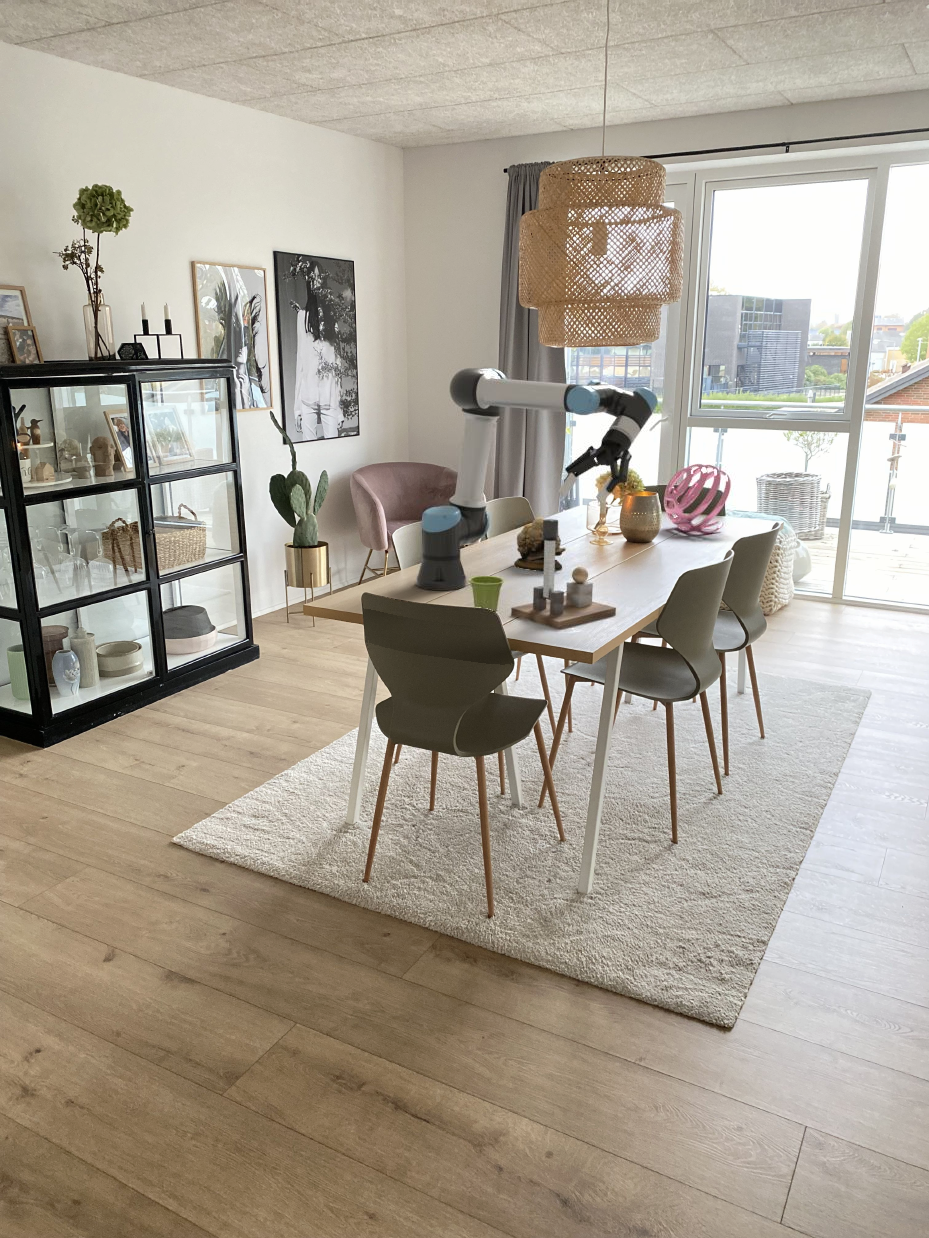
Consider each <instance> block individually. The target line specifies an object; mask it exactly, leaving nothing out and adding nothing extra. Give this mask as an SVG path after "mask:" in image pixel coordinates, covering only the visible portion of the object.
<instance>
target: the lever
mask: <svg viewBox="0 0 929 1238" xmlns="http://www.w3.org/2000/svg"><path fill="white" fill-rule="evenodd" d="M558 531H559V520H558V519H552V518H549V519H547V518H546V519H545V520H543V535H542V540H545V544H544V571H543V585H542V586H543V594H542V598H544V599H546V600H550V593H551V592H553V591H555V571H556V570H555V560H556V556H555V541H556V540H558V534H559V532H558Z"/></svg>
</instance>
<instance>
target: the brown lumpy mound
mask: <svg viewBox="0 0 929 1238" xmlns="http://www.w3.org/2000/svg"><path fill="white" fill-rule="evenodd" d="M543 520H546V519H545V518H544V517H542V516H538V517H536V518H534V520H533V521H531V523H526V524H525V525H524V527H523V528H522V530H521V531H520V532H519V533H518V534H517V535H516V545H517V549H516V550H517V551H518V553H519V555H520V557H519V558H517V560H516V561H514V562H513V566H514V565H515V566H516V567H515V566H514V567H515V568H517V567H519V568H518V569H521V568H522V569H521V570H525V569H529V570H528V571H533V570H536V571H535V572H544V544H545V540H542V535H543ZM559 533H560V532H559V530H558V540H556V541H555V557H559V556H562V554H563V553H564V552H565V551H566V550H567V549H566V547H560V546H561V542H562V540H561V538H560V535H559ZM561 569H563V565H562V564H561V563H560V562H559V560H558V559H555V571H559V570H561Z"/></svg>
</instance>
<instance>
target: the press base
mask: <svg viewBox="0 0 929 1238" xmlns="http://www.w3.org/2000/svg"><path fill="white" fill-rule="evenodd" d="M593 586H594V583H593V582H589V581H587V580H586V581H585V582H583V583H577V582H575V581H574V580H572V581H567V582H566V593H565V591H562V590H554V591H553V592H551V593H550V600H548V599H544V598H542V594H543V585H540V586H535V587H533V588H532V589H533V591H532V592H533V595H532V596H533V597H532V599H533V600H532V602H531V603H526V604H523V605H522V604H521V605H518V606H513V607H511V609H510V610H511V612H510V614H511V616H512V617H513V616H514V617H518V618H521V619H524V620H527V621H530V622H534V623H537V624H541V625H543V626H547V627H550V628H554V629H557V630H562V629H565V628H568V627H573V626H577V625H581V624H585V623H589V622H593V621H597V620H600V619H605V618H607V617H613V616H616V615H617V614H616V613H617V607H616V606H611V605H609V604H604V603H600V602H595V601H593V591H594V590H593ZM565 594H566V595H565Z"/></svg>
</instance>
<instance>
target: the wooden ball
mask: <svg viewBox="0 0 929 1238" xmlns="http://www.w3.org/2000/svg"><path fill="white" fill-rule="evenodd" d="M571 578H572V581H575V582H577V583H583V582H585V581H586V582H587V580H588V578H589V572H588V569H586V568H584V567H582V566H578V567H575V568H574V569H573V570H572V572H571Z"/></svg>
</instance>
